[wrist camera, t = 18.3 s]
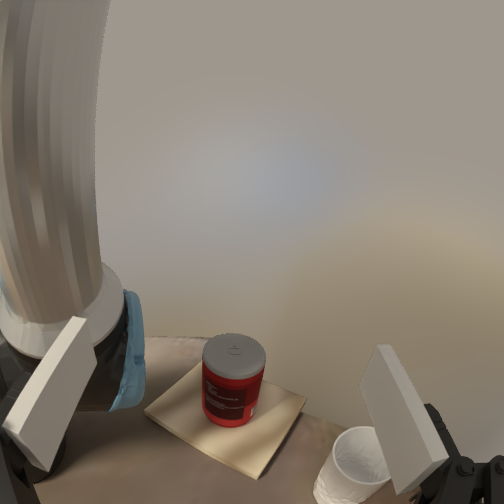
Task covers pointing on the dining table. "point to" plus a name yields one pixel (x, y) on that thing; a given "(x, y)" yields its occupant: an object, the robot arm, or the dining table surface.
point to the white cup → (352, 468)
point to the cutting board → (228, 439)
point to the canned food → (231, 379)
